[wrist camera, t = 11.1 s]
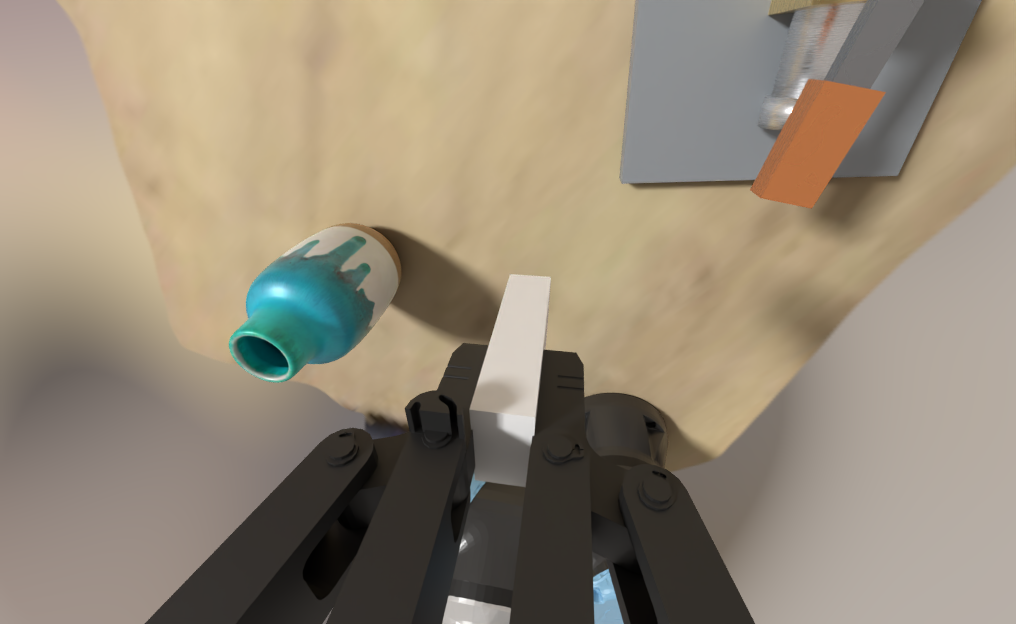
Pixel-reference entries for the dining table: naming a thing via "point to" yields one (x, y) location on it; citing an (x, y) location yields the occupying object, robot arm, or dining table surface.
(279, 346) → the vase
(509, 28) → the dining table surface
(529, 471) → the robot arm
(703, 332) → the dining table surface
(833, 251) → the dining table surface
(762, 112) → the valve pipe
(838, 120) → the valve lever
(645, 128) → the valve board
